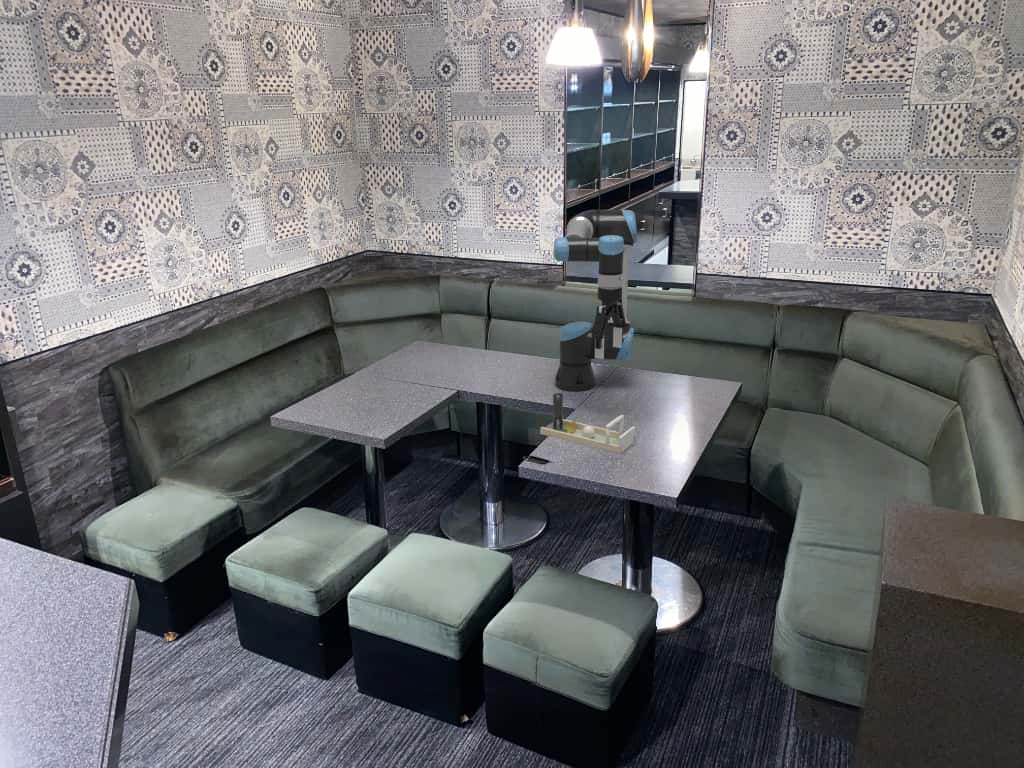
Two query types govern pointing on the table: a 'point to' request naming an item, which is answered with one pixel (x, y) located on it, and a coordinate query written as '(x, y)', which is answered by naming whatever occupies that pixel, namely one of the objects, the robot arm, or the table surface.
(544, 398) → the table surface
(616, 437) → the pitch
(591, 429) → the ball
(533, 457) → the phone
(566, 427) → the rod
